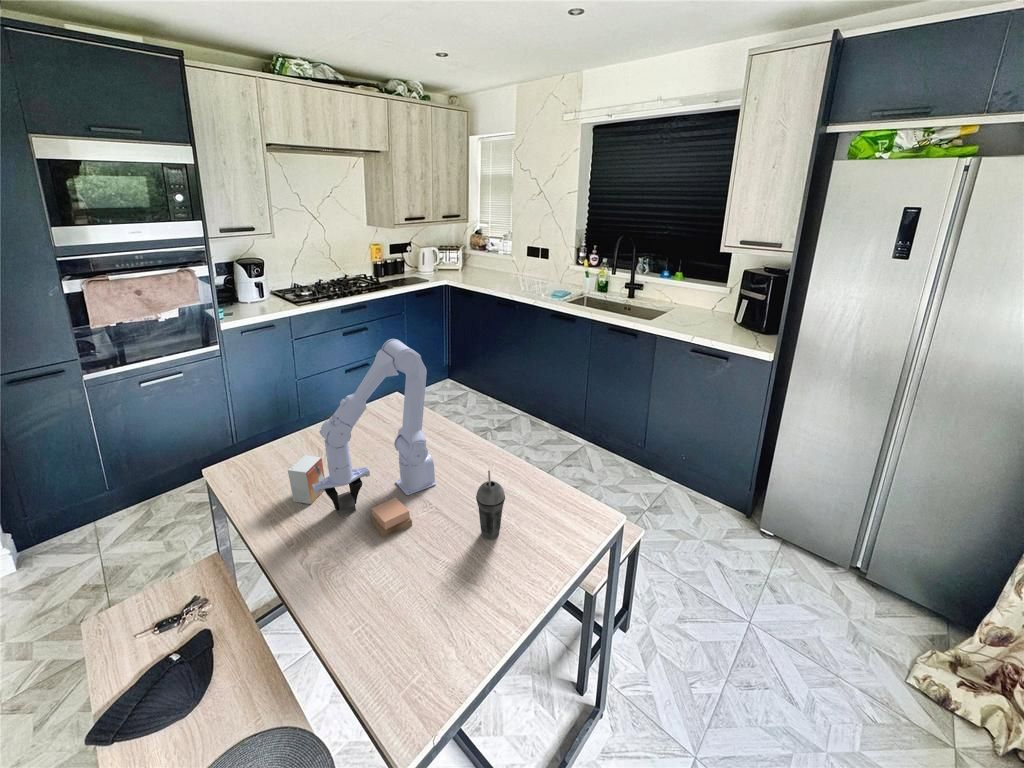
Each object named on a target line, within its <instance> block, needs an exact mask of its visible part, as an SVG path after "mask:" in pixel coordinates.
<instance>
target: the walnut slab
mask: <svg viewBox="0 0 1024 768" xmlns="http://www.w3.org/2000/svg"><path fill="white" fill-rule="evenodd" d="M369 519H370V522H371V524H372V525H373V526H374V527H375V529H376V530H377V532H378V533H379V534H380V536H381V537H382V538H383V539H385V538H387V537H389V536H391V535H394V534H395V533H398V532H400V531H402V530H405V529H407V528H410V527H412V526H413V520H412V518H411V517H410V519H408V520H406V521H404V522H402V523H399V524H397V525H395V526H393V527H391V528H389V529H387V530H385V529H384V528H383V527H382V526H381V525H380V524H379V522H378V521H377V520H376V519H375V518H374V517H373V514H370V515H369Z"/></svg>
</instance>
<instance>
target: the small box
mask: <svg viewBox="0 0 1024 768" xmlns="http://www.w3.org/2000/svg"><path fill="white" fill-rule="evenodd" d="M323 464H324V463H323V458H322V457H321V456H314V455H306V454H304V455H303V456H302V457H301V458H300V459H299V460H298V461H297V462H295V463H294V464H293V465H292V466H291V467H290V468H289V469H287V472H288V473H287V475H288V479H289V484H290V488H291V489H290V490H291V496H292V500H293V502H295V503H301V504H302V503H303V504H308V505H312V504H313V503H314V502H315V501H316V500H317V498H318V497H320V495H321V494H322V493H323V492H325V490H323V491H320V492H319V493H318V494H315V493H314V491H313V487H312V485H313V484H315V483H318V482H319V481H321V480H323V479H325V478H326V477H325V476H326V475H325V472H324V471H325V470H324V465H323Z"/></svg>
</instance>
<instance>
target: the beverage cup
mask: <svg viewBox="0 0 1024 768" xmlns="http://www.w3.org/2000/svg"><path fill="white" fill-rule="evenodd" d="M487 475H488V478H487V479H488V481H485V482H483V483H481V484H480V486H479V487H478V489H477V491H476V495H475V500H476V504H477V507H478V515H479V523H480V524H479V525H480V532H481V536H482V537H483V539H486V540H489V541H490V540H495V539H497V538H498V537H499V536H500V530H501V523H502V516H503V515H502V514H503V507H504V504H505V501H506V494H505V490H504V488H503V486H502V485H501V484H500V483H498V481H497V482H496V481H494V480H491V470H487Z"/></svg>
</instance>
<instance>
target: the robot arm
mask: <svg viewBox="0 0 1024 768" xmlns="http://www.w3.org/2000/svg"><path fill="white" fill-rule="evenodd" d="M398 371H399V372H401V373H404V374H405V381H404V382H405V384H404V385H405V386H404V398H403V410H402V411H403V415H402V426H401V427H399V428H398V430H397V431H398V432H397V436H396V437H395V439H394V441H393V442H394V443H393V446H394V449H395V450H396V451H397V452H398V463H399V476H400V477H399V479H397V480H395V483H396V485H397V486H398V487H399V488H400V489H401V491H402V492H403V493H404V494H405V496H410V495H413V494H415V493H417V492H421V491H423V490H426V489H428V488H431V487H433V486H437V482H436V478H435V477H436V476H435V464H434V459H433V458H432V456H431V454H430V452H429V450H428V447H427V440H426V436H425V434H424V432H423V421H424V420H423V417H424V409H425V408H424V407H425V398H426V397H425V396H426V395H425V394H426V383H427V373H428V371H427V368H426V366H425V364H424V362H423V360H422V355H421V354H419V353H418V352H417V351H415V350H414V349H412V348H411V347H409V346H407V345H406V344H405V343H404V342H402V340H399V339H396V338H390V339H388V340H386V341H385V342H384V343H383V345H382V346H381V349H379V350H378V351H377V352H376V356H375V359H374V361H373V363H372V365H371V366H370V368H369V369H368V370H367V373H366V374H365V376H364V378H363V379H362V381H361V382H360V384H359V386H357V388H356V390H355V391H354V393H351V394H348V395H346V396H345V398H342V399H341V400H340V401H339V404H340V405H338V407H337V409H336V410H335V412H334V413H333V414H332V415H331V416H330V417H329V418H328V419H327V420H326V421H324V422H323V423H322V425H321V427H320V429H319V434H320V435H321V437H322V438H323V439H324V447H325V456H326V457H325V458H326V462H327V470H328V476H326V477H325V479H323V480H321V481H319V482H318V483H315V484H313V485H312V487H313V491H314V493H315V494H318V493H319V492H320V491H323V490H324V491H323V492H325V494H326V496H328V498H329V499H330V500H331V502H332V504H333V507H334V509H335V510H336V511H337V512H338V510H339V504H338V495H339V494H338V491H337V490H336V488H338V487H344V486H347V485H348V486H349V492H350V493H351V495H352V496H353V498H354V500H355V505H356V504H357V502H358V496H359V492H360V490H361V488H362V486H363V480H362V479H361V478H363V477H366V478H367V477H370V476H371V474H370V473H371V472H370V469H369V467H368V466H364V467H361V468H360V467H358V468H352V466H353V465H352V459H351V450H350V445H349V442H350V441H351V439H352V431H353V429H354V427H355V426H356V424H357V422H358V421H359V420H360V419H361V417H362V415H363V414H364V413H365V411H366V410H367V401H368V399H369V398H370V397H371V395H372V394H373V393H374V392H375V391H376V389H377V388H378V387H379V386H380V384H382V382H383V381H384V380H385V379H386V378H387V377H388V378H389V377H394V376H395V377H396V376H399V372H398Z"/></svg>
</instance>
